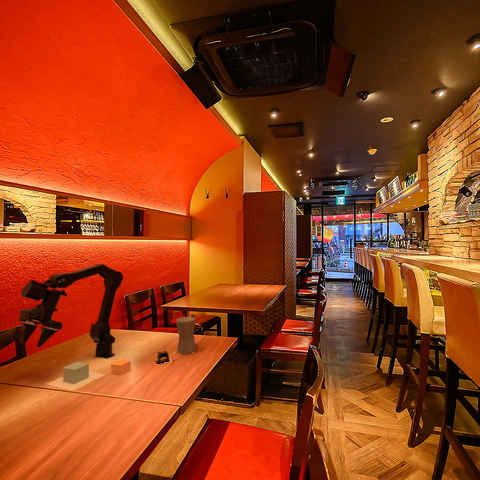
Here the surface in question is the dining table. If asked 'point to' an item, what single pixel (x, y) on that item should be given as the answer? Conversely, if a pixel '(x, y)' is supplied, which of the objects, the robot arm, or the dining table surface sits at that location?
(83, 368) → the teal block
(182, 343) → the coffeepot
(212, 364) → the dining table surface
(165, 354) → the dark piece
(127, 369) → the orange block
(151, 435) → the dining table surface
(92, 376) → the base plate
